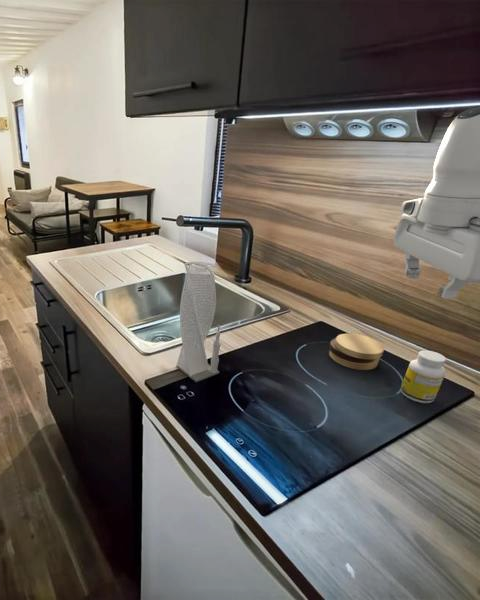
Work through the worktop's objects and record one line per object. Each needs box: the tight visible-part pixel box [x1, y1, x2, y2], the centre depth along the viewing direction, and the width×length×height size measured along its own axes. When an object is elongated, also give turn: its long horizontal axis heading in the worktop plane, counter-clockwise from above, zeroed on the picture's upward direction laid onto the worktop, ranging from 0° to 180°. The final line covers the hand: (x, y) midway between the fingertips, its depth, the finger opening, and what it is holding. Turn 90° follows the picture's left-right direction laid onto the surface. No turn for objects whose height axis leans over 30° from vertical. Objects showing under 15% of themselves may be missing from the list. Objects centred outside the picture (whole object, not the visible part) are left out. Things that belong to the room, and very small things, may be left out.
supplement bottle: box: [399, 349, 447, 404], centre depth 73 cm, size 5×5×10 cm
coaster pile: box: [328, 332, 385, 371], centre depth 87 cm, size 10×10×4 cm
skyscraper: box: [175, 261, 222, 383], centre depth 82 cm, size 8×8×28 cm
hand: (427, 286), depth 67 cm, fingers open, 8 cm apart
